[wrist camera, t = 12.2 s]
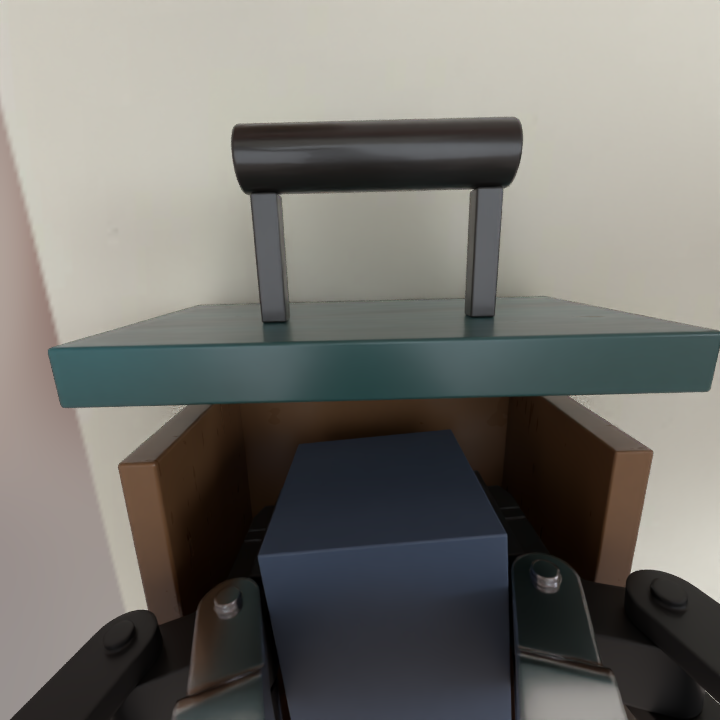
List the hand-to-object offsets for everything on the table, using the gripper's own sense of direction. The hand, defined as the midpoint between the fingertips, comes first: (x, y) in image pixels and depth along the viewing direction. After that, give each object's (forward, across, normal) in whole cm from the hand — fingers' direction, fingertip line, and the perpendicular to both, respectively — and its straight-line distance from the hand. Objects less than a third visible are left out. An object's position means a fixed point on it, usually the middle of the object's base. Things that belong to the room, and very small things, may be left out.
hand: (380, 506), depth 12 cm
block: (0, 0, 0) cm, 0 cm away
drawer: (+3, 0, -3) cm, 4 cm away
